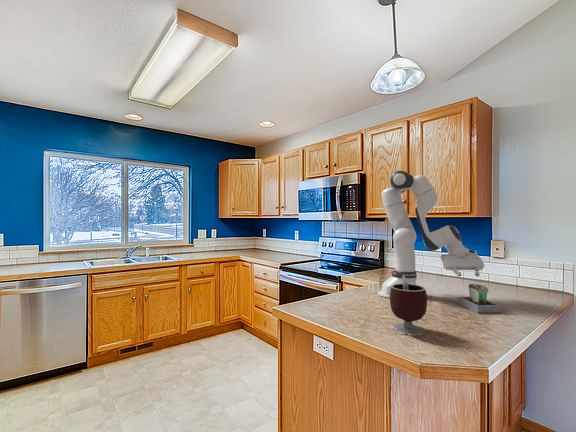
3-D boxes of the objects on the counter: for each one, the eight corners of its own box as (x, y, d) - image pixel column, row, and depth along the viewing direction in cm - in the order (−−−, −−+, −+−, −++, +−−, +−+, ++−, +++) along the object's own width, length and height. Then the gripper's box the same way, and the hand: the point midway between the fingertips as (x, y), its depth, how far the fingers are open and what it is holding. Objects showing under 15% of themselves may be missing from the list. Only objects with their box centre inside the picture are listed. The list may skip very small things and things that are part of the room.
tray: (477, 313, 143) (477, 305, 144) (458, 303, 160) (458, 296, 160) (500, 313, 143) (500, 305, 144) (478, 303, 160) (478, 296, 160)
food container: (493, 310, 146) (493, 289, 146) (479, 310, 147) (479, 289, 147) (481, 303, 158) (481, 283, 158) (468, 303, 159) (468, 283, 159)
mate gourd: (432, 337, 115) (431, 284, 115) (393, 335, 117) (392, 283, 117) (421, 323, 130) (420, 276, 130) (387, 322, 133) (386, 275, 133)
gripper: (441, 250, 167) (450, 272, 157) (479, 250, 167) (491, 272, 157) (437, 258, 171) (446, 279, 161) (474, 258, 171) (485, 279, 161)
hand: (468, 275), depth 159 cm, fingers open, 8 cm apart
